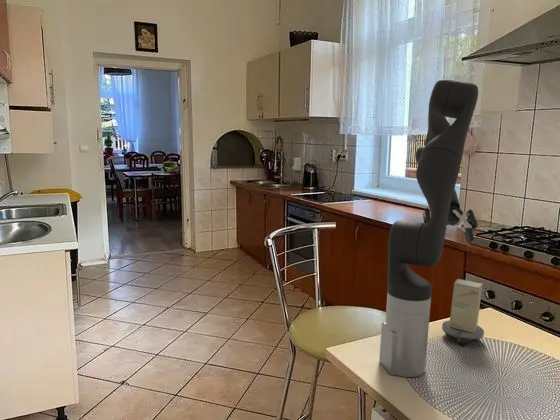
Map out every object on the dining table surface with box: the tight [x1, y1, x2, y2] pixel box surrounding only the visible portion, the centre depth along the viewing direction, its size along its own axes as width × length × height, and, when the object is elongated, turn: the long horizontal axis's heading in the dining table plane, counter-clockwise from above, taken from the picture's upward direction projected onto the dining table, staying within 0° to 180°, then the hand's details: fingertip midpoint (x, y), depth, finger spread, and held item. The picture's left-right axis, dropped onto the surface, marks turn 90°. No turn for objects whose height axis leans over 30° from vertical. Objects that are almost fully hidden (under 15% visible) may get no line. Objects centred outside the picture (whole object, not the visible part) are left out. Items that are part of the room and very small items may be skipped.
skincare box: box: [449, 278, 483, 333], centre depth 112 cm, size 6×4×12 cm
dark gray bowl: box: [441, 319, 485, 347], centre depth 113 cm, size 10×10×3 cm
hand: (454, 241), depth 120 cm, fingers open, 8 cm apart
